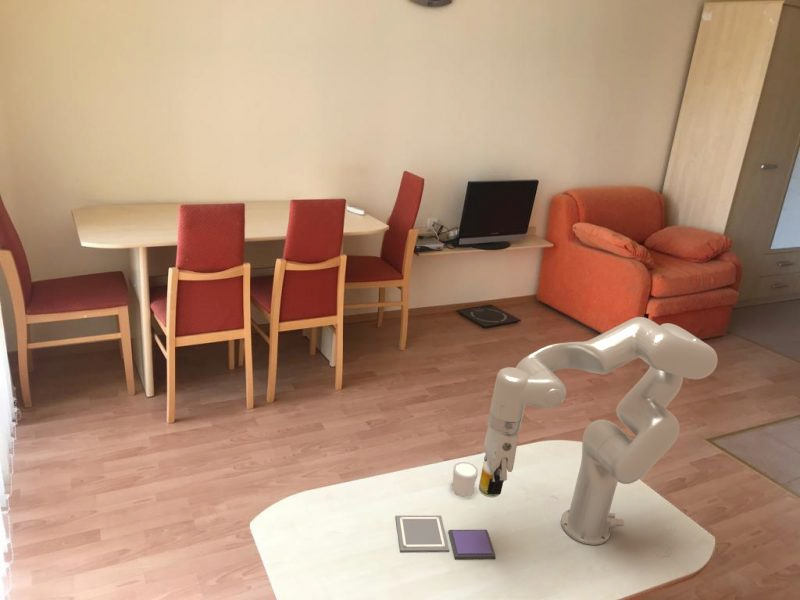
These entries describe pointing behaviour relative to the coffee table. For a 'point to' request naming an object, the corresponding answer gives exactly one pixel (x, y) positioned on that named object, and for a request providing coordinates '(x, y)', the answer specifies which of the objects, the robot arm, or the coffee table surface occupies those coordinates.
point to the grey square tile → (421, 534)
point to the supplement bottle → (486, 479)
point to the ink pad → (471, 544)
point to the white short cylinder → (464, 478)
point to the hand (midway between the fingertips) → (490, 484)
